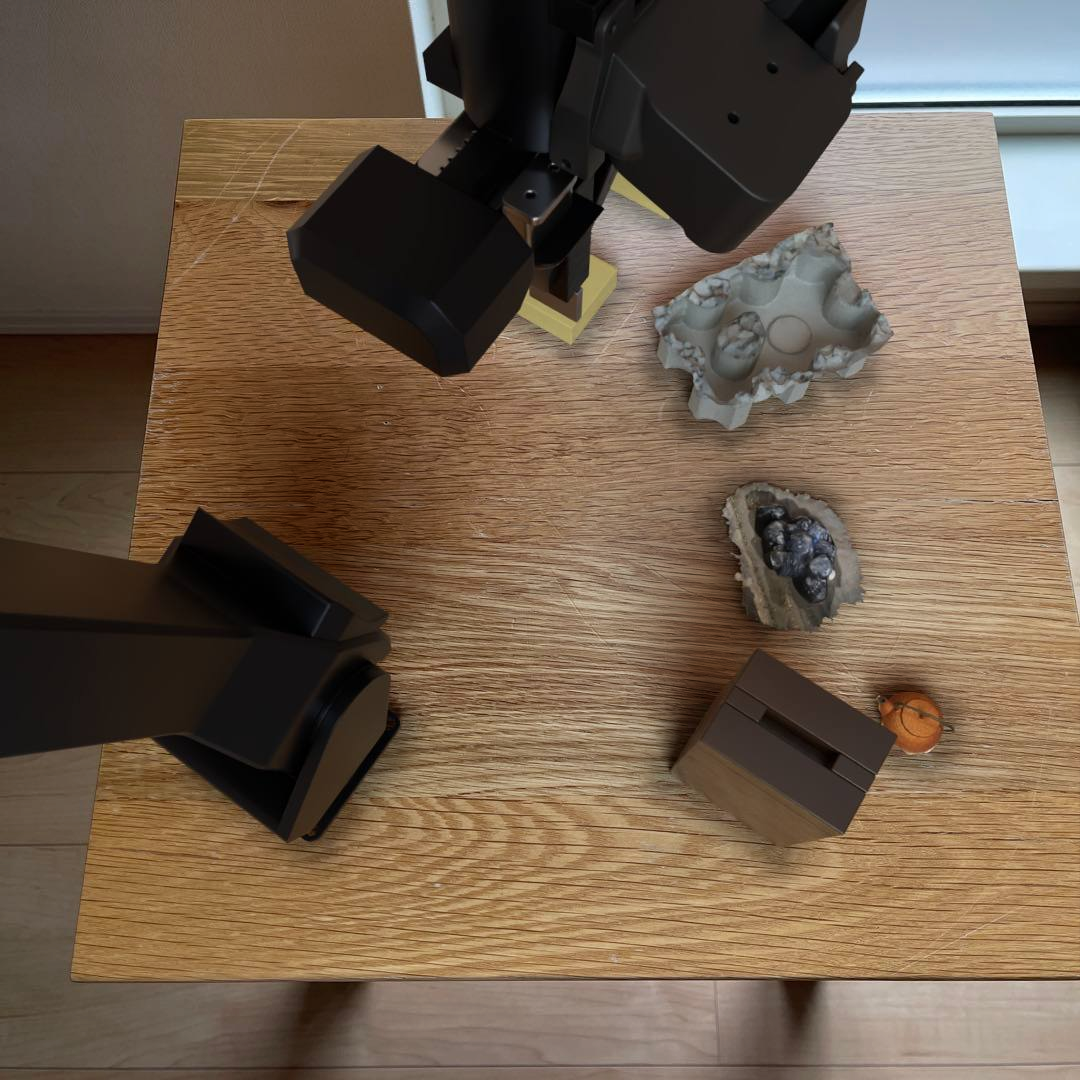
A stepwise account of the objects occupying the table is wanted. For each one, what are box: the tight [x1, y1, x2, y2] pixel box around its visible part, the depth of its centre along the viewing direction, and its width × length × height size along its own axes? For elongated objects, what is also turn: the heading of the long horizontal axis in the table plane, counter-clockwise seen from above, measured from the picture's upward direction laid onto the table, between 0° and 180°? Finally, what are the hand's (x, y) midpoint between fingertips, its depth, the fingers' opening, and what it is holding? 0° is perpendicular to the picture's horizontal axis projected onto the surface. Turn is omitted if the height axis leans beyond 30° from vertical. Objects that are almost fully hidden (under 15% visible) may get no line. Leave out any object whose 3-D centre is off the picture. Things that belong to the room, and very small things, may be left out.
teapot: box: [876, 691, 955, 756], centre depth 41 cm, size 3×3×3 cm
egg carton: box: [649, 221, 895, 431], centre depth 47 cm, size 11×8×4 cm
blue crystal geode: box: [721, 481, 867, 634], centre depth 44 cm, size 7×8×2 cm
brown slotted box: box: [668, 647, 898, 848], centre depth 37 cm, size 4×6×10 cm
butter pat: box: [610, 172, 671, 220], centre depth 52 cm, size 2×7×2 cm, turn 56°
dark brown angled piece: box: [529, 174, 594, 323], centre depth 36 cm, size 2×2×8 cm
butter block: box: [516, 253, 619, 346], centre depth 50 cm, size 4×7×2 cm, turn 56°
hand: (553, 267), depth 37 cm, fingers closed on dark brown angled piece, 2 cm apart
